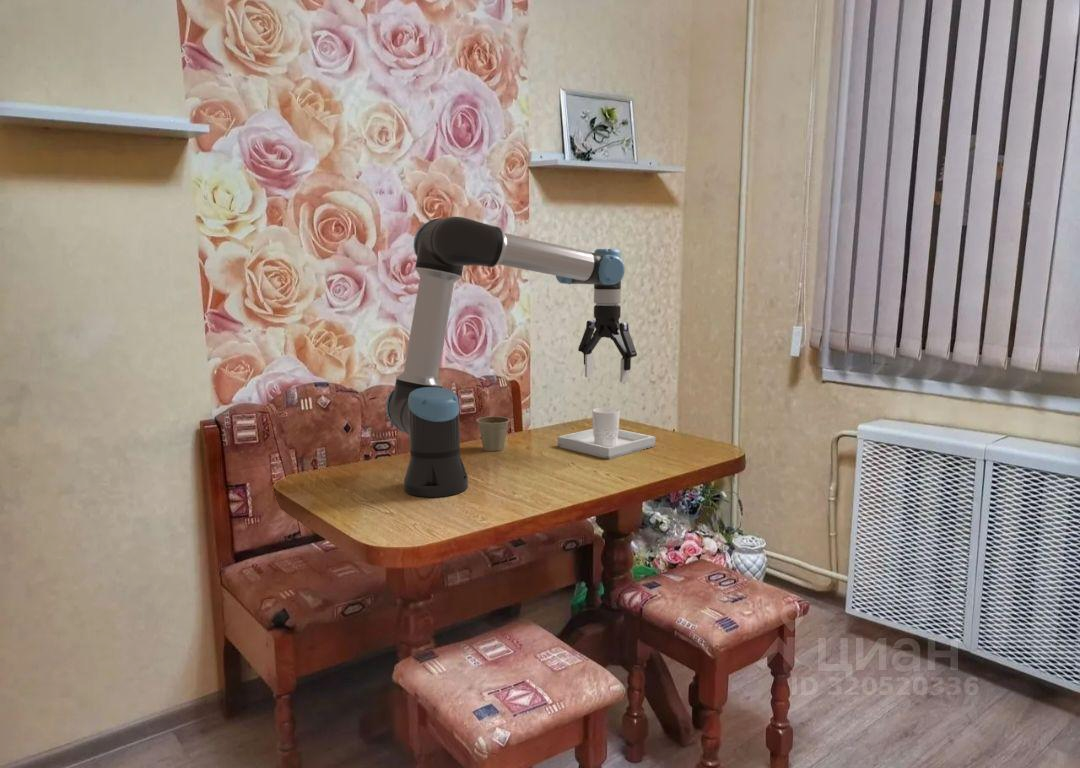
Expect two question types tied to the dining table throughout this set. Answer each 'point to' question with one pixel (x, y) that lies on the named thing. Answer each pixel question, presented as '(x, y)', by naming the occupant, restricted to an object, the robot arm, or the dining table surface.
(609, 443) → the white cup
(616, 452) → the tray
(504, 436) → the flower pot
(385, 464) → the dining table surface
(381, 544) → the dining table surface
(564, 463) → the dining table surface
